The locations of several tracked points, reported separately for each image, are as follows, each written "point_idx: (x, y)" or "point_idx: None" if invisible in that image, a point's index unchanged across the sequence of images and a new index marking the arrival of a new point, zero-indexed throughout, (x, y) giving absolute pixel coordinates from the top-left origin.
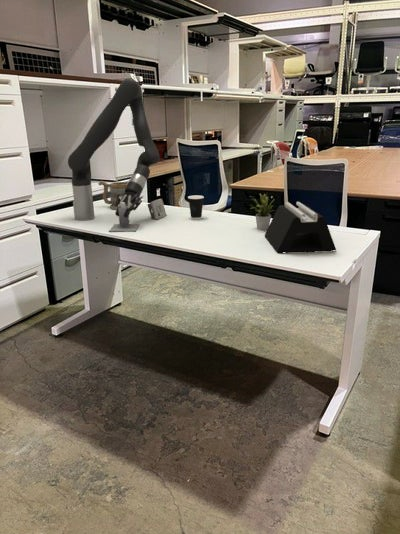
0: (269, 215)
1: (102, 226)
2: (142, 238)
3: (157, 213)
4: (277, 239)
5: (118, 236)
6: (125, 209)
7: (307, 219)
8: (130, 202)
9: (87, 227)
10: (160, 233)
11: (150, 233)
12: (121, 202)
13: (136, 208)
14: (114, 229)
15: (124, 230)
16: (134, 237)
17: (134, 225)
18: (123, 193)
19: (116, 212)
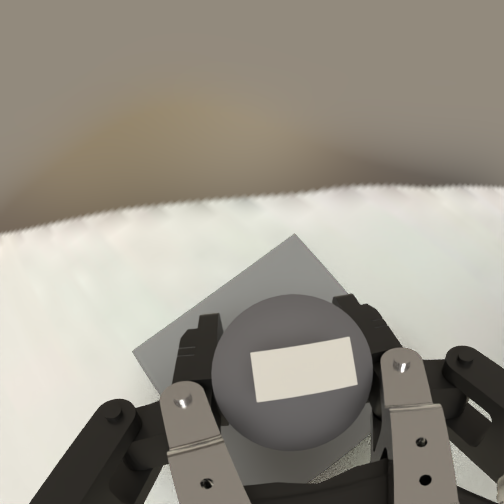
0: None
1: (453, 305)
2: (27, 260)
3: None
4: None
5: (158, 207)
6: (216, 353)
7: None
8: (179, 482)
9: (483, 232)
10: (4, 390)
11: (39, 365)
12: (343, 365)
13: (117, 473)
14: (289, 277)
15: (200, 302)
16: (67, 248)
17: (250, 460)
18: None
19: (348, 303)
